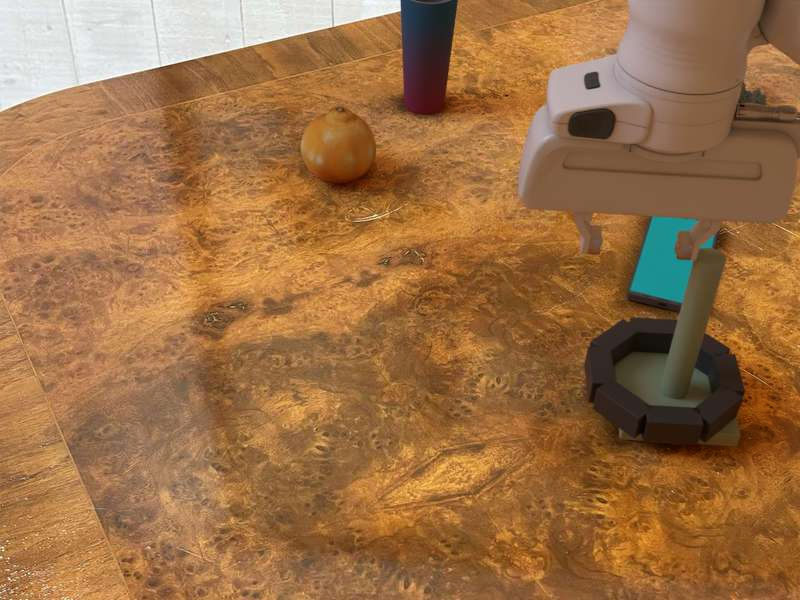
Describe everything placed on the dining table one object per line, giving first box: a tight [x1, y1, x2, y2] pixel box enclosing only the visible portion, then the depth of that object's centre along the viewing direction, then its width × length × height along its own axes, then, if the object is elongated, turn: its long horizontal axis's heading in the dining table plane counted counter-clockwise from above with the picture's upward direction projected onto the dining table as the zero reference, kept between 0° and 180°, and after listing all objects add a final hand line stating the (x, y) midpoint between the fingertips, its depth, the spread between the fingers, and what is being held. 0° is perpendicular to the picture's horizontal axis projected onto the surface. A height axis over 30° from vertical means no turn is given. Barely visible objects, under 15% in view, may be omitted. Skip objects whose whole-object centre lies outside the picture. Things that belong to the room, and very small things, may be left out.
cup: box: [399, 0, 459, 115], centre depth 128 cm, size 7×7×15 cm
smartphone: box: [625, 216, 719, 313], centre depth 110 cm, size 7×1×15 cm
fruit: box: [300, 106, 377, 184], centre depth 119 cm, size 8×8×8 cm
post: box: [613, 248, 741, 447], centre depth 90 cm, size 10×10×16 cm
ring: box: [583, 316, 746, 446], centre depth 93 cm, size 13×13×2 cm
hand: (637, 252), depth 85 cm, fingers open, 6 cm apart
